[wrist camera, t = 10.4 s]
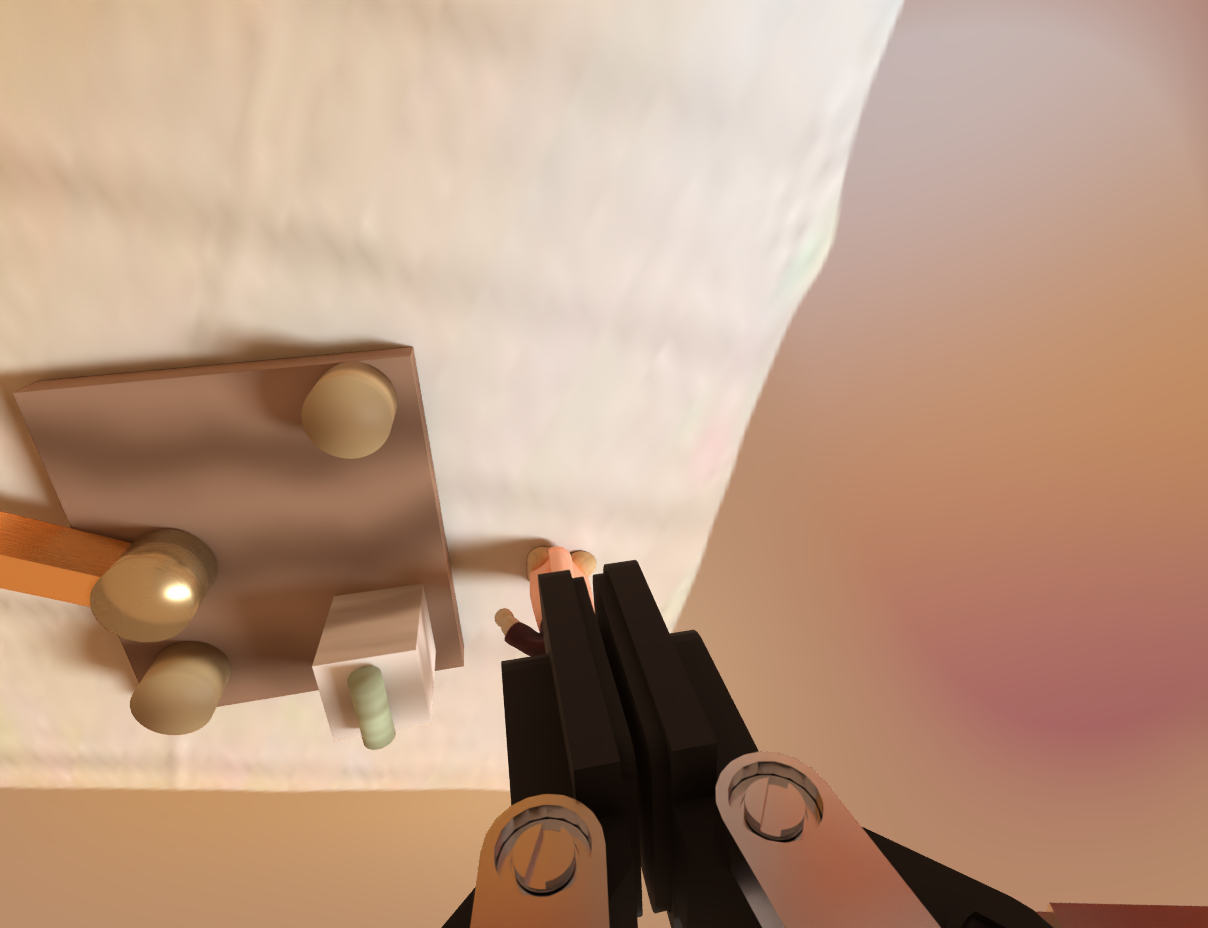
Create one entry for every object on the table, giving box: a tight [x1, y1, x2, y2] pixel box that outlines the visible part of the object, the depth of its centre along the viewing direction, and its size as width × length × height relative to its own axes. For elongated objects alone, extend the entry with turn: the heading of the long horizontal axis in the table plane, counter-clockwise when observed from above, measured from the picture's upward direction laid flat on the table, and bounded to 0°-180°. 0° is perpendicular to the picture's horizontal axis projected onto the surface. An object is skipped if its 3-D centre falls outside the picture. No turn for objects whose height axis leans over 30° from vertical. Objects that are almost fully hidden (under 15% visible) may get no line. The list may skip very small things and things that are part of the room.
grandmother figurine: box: [495, 547, 596, 656], centre depth 37 cm, size 8×4×13 cm, turn 85°
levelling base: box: [13, 347, 464, 750], centre depth 34 cm, size 20×18×10 cm
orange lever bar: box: [0, 511, 218, 642], centre depth 32 cm, size 12×4×4 cm, turn 66°
